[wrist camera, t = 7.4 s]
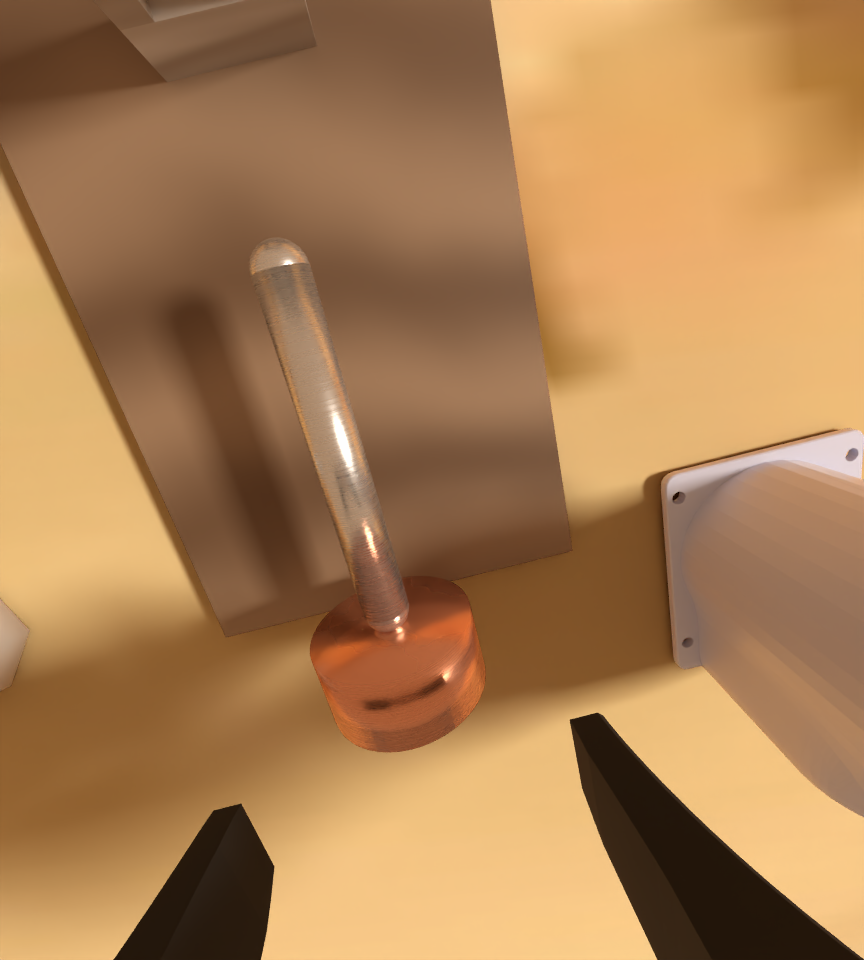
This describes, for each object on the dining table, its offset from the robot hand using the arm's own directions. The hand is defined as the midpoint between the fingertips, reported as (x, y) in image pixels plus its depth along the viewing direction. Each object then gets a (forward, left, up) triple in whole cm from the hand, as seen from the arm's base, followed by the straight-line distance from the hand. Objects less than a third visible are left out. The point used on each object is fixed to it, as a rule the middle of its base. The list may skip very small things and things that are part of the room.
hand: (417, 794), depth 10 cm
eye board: (+11, 0, -9) cm, 14 cm away
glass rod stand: (+5, 0, -7) cm, 9 cm away
